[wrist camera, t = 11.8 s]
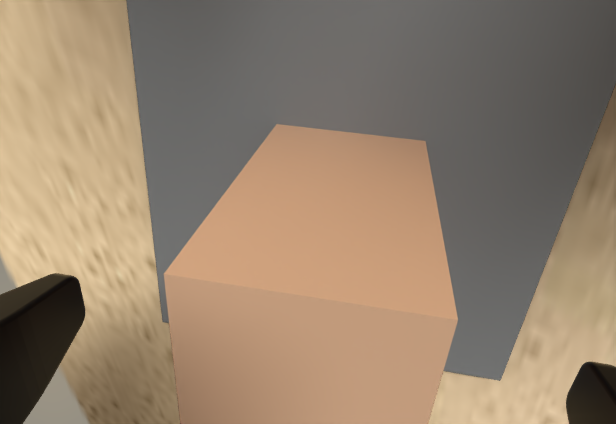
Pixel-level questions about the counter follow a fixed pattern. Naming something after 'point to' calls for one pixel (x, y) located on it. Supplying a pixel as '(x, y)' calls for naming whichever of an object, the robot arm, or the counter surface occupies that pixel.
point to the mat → (388, 120)
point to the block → (315, 288)
